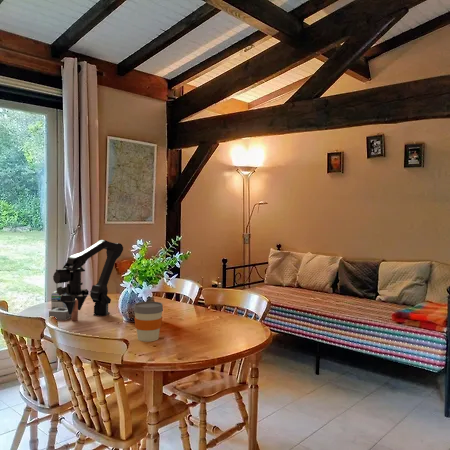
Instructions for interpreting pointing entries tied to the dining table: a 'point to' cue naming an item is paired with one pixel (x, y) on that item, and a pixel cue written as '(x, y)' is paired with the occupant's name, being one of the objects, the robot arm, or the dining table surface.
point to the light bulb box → (56, 301)
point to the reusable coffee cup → (148, 320)
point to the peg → (75, 312)
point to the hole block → (60, 313)
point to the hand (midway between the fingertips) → (74, 312)
